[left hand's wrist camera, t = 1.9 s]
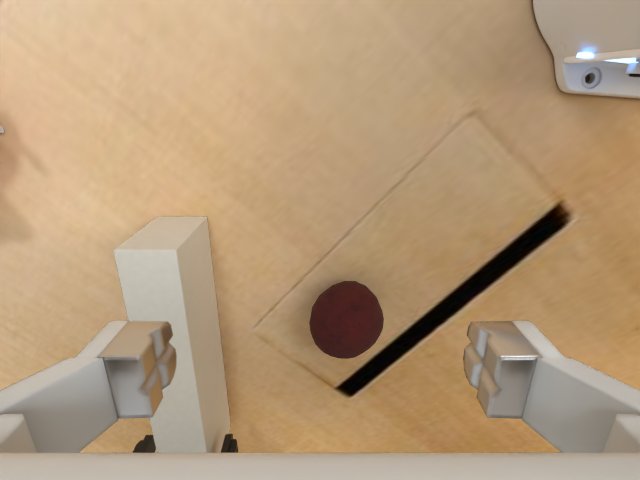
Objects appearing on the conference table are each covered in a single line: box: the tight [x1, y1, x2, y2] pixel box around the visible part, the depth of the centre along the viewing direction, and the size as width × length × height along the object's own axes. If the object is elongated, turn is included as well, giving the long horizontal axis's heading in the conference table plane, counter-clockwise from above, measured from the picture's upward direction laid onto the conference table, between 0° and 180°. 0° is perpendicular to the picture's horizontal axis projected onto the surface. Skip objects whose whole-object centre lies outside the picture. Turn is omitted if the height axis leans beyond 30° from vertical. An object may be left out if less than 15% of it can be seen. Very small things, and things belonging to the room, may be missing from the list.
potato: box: [310, 281, 383, 358], centre depth 38 cm, size 7×8×7 cm
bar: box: [113, 217, 231, 453], centre depth 39 cm, size 28×5×9 cm, turn 0°
